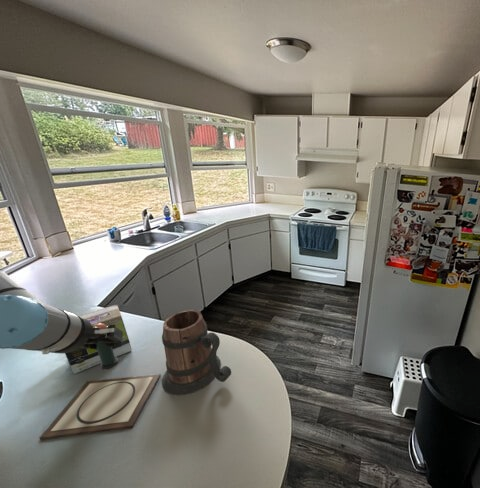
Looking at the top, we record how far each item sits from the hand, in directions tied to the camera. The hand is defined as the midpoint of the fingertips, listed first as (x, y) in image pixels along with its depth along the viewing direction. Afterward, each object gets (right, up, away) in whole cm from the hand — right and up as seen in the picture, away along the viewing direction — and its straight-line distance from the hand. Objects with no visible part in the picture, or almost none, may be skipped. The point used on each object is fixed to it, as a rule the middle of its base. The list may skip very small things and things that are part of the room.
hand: (111, 343), depth 70 cm
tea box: (-16, -10, +15) cm, 25 cm away
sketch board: (0, -16, -1) cm, 16 cm away
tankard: (+20, -14, +9) cm, 26 cm away
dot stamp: (+1, -5, -2) cm, 6 cm away
